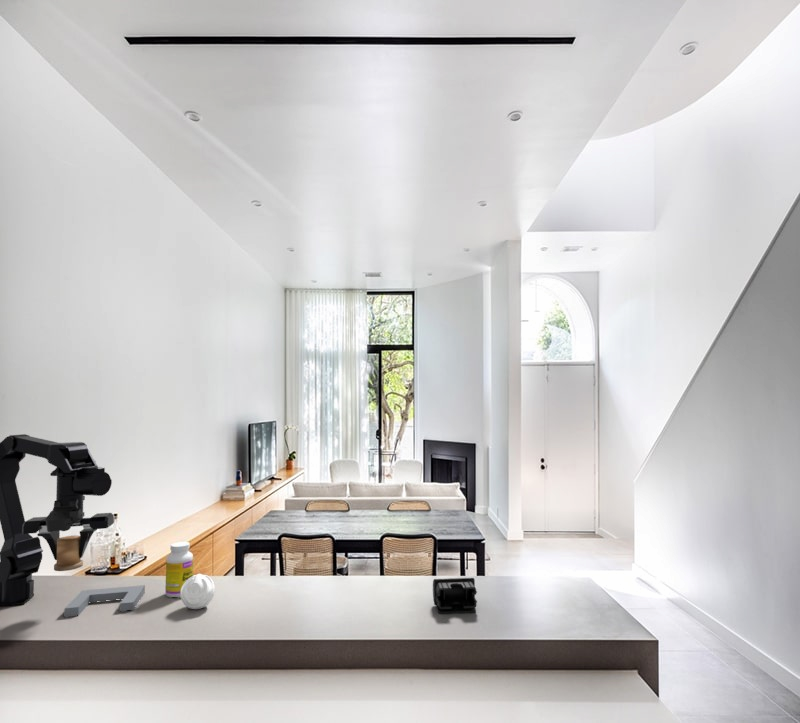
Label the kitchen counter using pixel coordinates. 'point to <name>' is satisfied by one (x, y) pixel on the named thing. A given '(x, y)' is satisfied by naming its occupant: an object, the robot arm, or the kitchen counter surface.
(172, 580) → the supplement bottle
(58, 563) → the wooden drawer knob
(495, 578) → the kitchen counter surface
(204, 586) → the white rounded piece
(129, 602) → the notched board
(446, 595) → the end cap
